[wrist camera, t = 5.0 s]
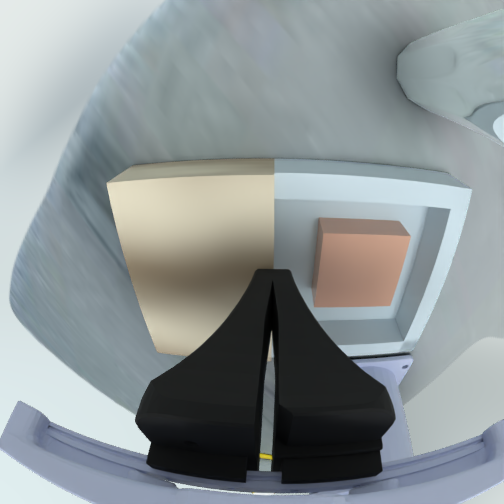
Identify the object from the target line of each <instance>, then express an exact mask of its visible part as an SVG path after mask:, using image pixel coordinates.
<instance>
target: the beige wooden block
mask: <svg viewBox="0 0 504 504" xmlns="http://www.w3.org/2000/svg"><path fill="white" fill-rule="evenodd" d="M107 188H108V193H109V198H110V202H111V207H112V211H113V215H114V219H115V224H116V228H117V231H118V235H119V239H120V243H121V247H122V250H123V254H124V257H125V261H126V264H127V267H128V271H129V274H130V277H131V280H132V284H133V287H134V290H135V293H136V296H137V299H138V302H139V305H140V308H141V310H142V313H143V316H144V319H145V322H146V324H147V327H148V330H149V332H150V335H151V338H152V340H153V343H154V345H155V348H156V350H157V353H165V354H173V355H182V356H189V355H190V354H191V353H192V352H194V351H195V350H196V349H197V348H198V347H200V346H201V345H202V344H203V343H204V342H205V341H206V340H207V339H208V338H209V337H210V336H211V335H212V334H213V333H214V332H215V331H216V330H217V329H218V328H219V327H220V325H221V324H222V323H223V322H224V321H225V319H226V318H227V317H228V316H229V314H230V313H231V312H232V310H233V309H234V308H235V306H236V305H237V303H238V302H239V300H240V299H241V297H242V296H243V294H244V292H245V291H246V289H247V287H248V285H249V283H250V281H251V279H252V277H253V275H254V272H255V271H256V270H257V269H274V158H251V159H212V160H192V161H177V162H164V163H152V164H142V165H133V166H131V167H130V168H128V169H127V170H125V171H124V172H122V173H121V174H119V175H118V176H116V177H115V178H113V179H112V180H110V181H109V182H107ZM271 351H272V331H271V338H270V345H269V352H268V359H267V361H271Z"/></svg>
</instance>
